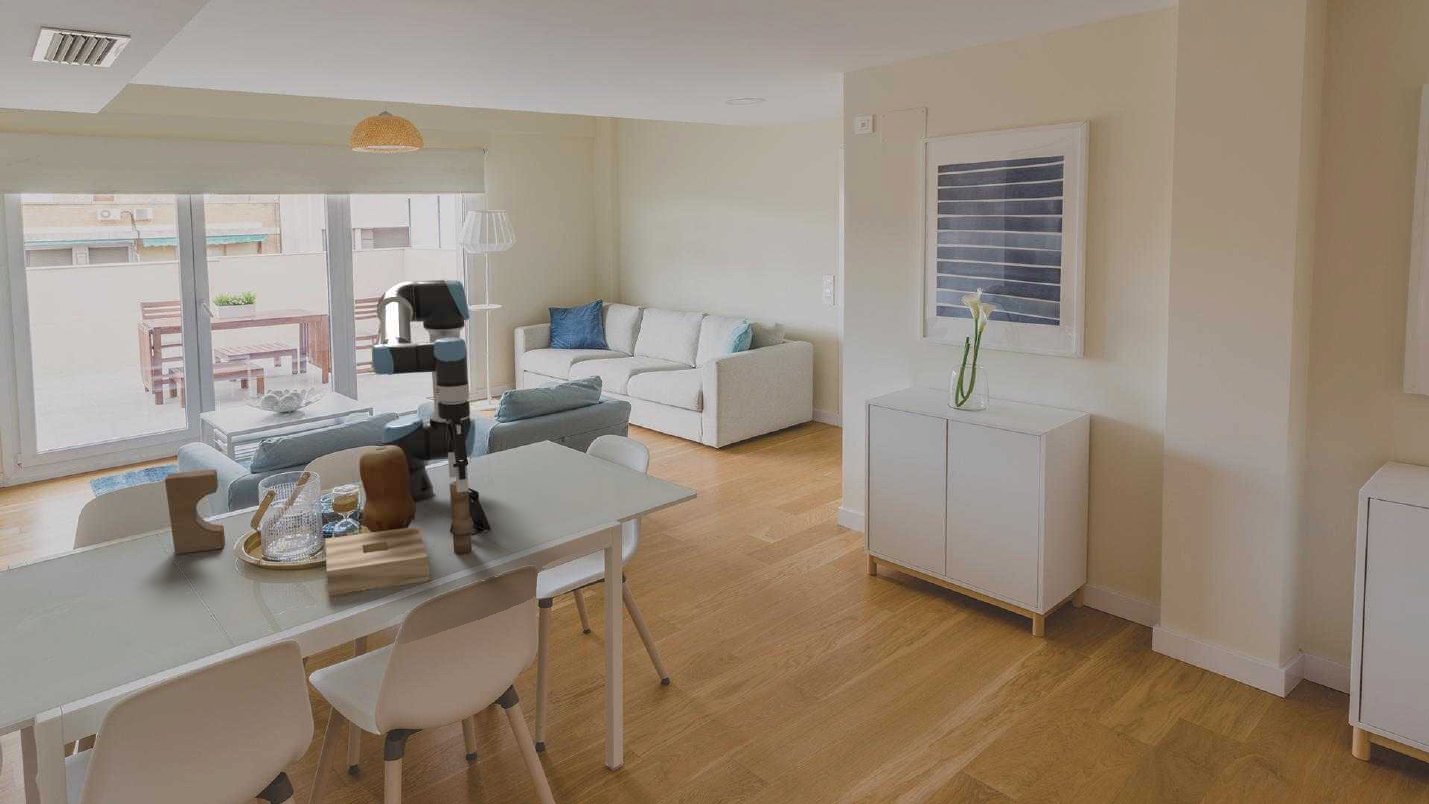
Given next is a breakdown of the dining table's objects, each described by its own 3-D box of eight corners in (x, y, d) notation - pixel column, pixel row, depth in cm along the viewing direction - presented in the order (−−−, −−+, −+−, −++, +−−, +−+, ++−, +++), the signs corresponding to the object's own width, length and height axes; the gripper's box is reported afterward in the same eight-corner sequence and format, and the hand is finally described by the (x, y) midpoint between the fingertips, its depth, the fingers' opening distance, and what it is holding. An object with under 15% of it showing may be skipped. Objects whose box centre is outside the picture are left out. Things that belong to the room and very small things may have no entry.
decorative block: (225, 541, 245) (216, 468, 241) (223, 549, 240) (214, 474, 236) (178, 547, 241) (168, 473, 237) (174, 555, 236) (164, 479, 232)
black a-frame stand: (461, 538, 248) (458, 494, 245) (449, 532, 252) (447, 489, 250) (491, 529, 254) (488, 487, 252) (479, 524, 258) (476, 482, 256)
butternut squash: (364, 532, 252) (356, 442, 247) (416, 525, 257) (409, 437, 252) (365, 550, 240) (357, 456, 234) (420, 543, 244) (413, 450, 239)
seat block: (327, 561, 232) (325, 538, 231) (419, 548, 241) (418, 526, 239) (329, 595, 213) (326, 571, 211) (429, 580, 221) (427, 556, 220)
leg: (452, 549, 240) (448, 482, 236) (470, 546, 242) (466, 480, 238) (455, 555, 236) (450, 487, 232) (473, 552, 238) (469, 485, 234)
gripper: (431, 393, 240) (437, 472, 245) (444, 412, 218) (449, 499, 222) (461, 390, 243) (466, 469, 248) (477, 409, 221) (482, 495, 225)
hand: (458, 484), depth 235 cm, fingers open, 13 cm apart
